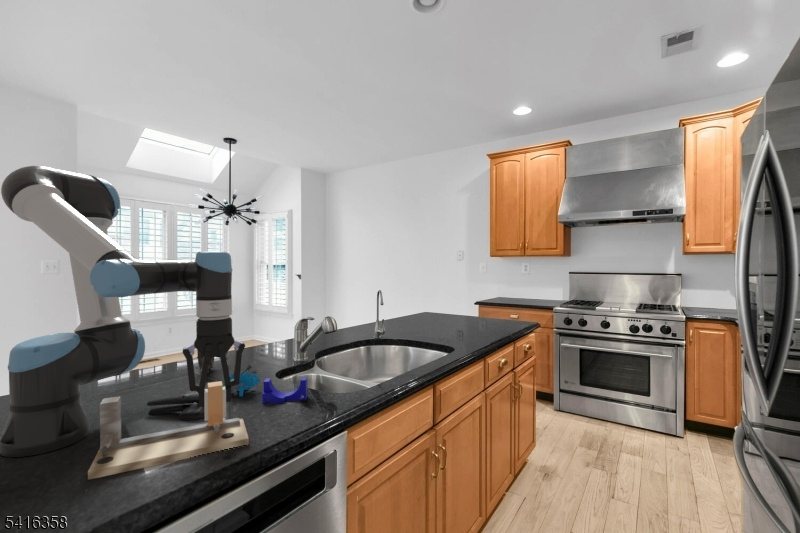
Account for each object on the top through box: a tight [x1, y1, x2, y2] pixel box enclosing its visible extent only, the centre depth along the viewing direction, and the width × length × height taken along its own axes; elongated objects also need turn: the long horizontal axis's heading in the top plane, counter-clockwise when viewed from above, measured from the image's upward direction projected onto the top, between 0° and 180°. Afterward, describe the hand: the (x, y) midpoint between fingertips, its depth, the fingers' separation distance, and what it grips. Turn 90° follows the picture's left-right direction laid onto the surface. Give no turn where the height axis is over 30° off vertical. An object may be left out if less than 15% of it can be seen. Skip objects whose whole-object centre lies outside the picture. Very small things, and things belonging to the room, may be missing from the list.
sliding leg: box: [207, 380, 224, 435], centre depth 87 cm, size 3×8×9 cm, turn 28°
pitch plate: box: [87, 396, 250, 481], centre depth 83 cm, size 28×12×12 cm, turn 118°
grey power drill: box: [196, 349, 215, 375], centre depth 141 cm, size 11×5×16 cm, turn 22°
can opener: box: [146, 393, 205, 421], centre depth 101 cm, size 18×7×6 cm, turn 83°
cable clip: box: [261, 376, 308, 405], centre depth 112 cm, size 12×4×6 cm, turn 96°
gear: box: [222, 371, 260, 398], centre depth 116 cm, size 11×6×10 cm
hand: (215, 416), depth 90 cm, fingers closed on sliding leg, 3 cm apart
